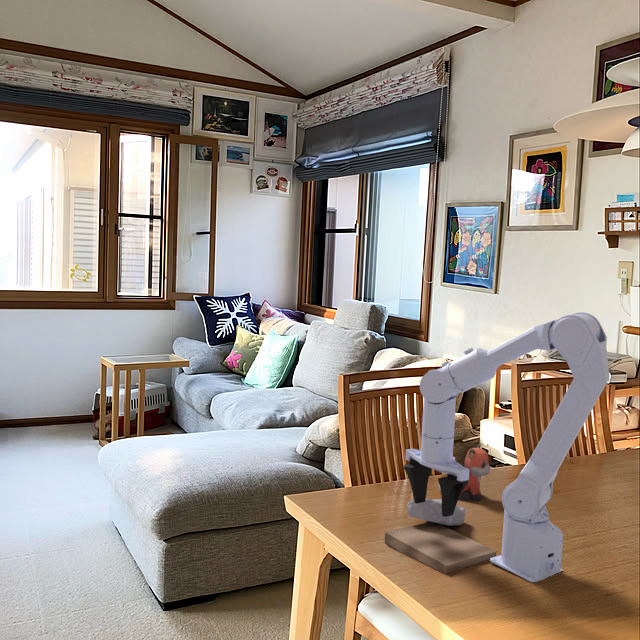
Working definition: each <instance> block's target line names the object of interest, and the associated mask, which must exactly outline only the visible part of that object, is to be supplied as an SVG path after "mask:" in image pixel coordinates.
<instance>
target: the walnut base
mask: <svg viewBox="0 0 640 640" xmlns="http://www.w3.org/2000/svg"><path fill="white" fill-rule="evenodd" d="M384 544H385V545H387V546H390V547H391V548H393V549H395V550H396V551H398V552H400V553H402V554H404V555H407V556H408V557H410V558H412V559H414V560H417V561H419V562H420V563H423V564H424V565H426V566H428V567H431V568H433V569H435V570H437V571H438V572H440V573H442V574H445V575H448V574H451V573H454V572H457V571H459V570H462V569H465V568H469V567H471V566H475V565H478V564H481V563H484V562H487V561H490V560H489V559H490V558H493V557H496V556H497V551H496V550H494V549H492V548H490V547H488V546H486V545H484V544H482V543H481V542H478V541H476V540H473V539H471V538H469V537H467V536H466V535H463V534H462V533H460V532H457V531H455V530H453V529H451V528H449V527H446V525H444V524H440V523H435V522H431V521H426V522H423V523H420V524H414V525H411V526H405V527H402V528H398V529H394V530H393V529H392V530H389V531H385V533H384Z"/></svg>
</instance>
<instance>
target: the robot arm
mask: <svg viewBox="0 0 640 640" xmlns="http://www.w3.org/2000/svg"><path fill="white" fill-rule="evenodd" d="M607 339H608V338H607V334H606V332H605V331H604V328H603V326H602V325H601V323H600V321H599V320H598V318H597V317H596V316H594V315H593V314H590V313H588V312H582V311H581V312H575V313H573V314H567V315H563V316H561V317H559V318H558V319H554V320H549V321H547V322H545V323H541V324H538V325H535V326H532V327H530V328H529V329H527V330H525V331H523V332H521V333H519V334H518V335H516V336H514V337H512V338H510V339H509V340H506V341H505V342H502V343H501V344H499V345H497V346H496V347H494V348H492V349H490V350H487V349H484V348H481V347H477V348H476V349H474V348H473V347H469V348H467V349H465V350H464V351H463V353H464V354H463V355H462V356H460V357H458V358H457V357H456V358H455V359H454V360H452V361H449V360H447V361H444V362H442V363H441V367H440V368H437V369H430V370H428V371H427V372H426V373H425V374H424V375H423V376H422V377H421V378H420V381H419V390H420V391H419V392H420V393H421V396H422V397H423V409H422V420H421V421H422V423H421V425H422V426H421V444H420V449H417V448H408V449H405V457H404V458H405V460H406V461H408V463H405V464H403V470H404V471H405V474H406V475H407V477H408V480H409V481H408V482H409V483H410V487H411V492H412V497H413V500H414V503H416V504H418V503H422V502H425V500H426V499H427V492H428V482H429V479H430V475H431V472H432V470H434V471H437V472H440V473H442V474H444V475H446V476H443V477H439V478H437V482H438V484H439V485H440V488H439V490H440V489H441V490H440V496H441V499H442V516H444V517H447V516H452V515H453V514H454V510H455V507H456V505H457V503H458V502H459V500H460V499H459V497H460V495H461V493H462V491H463V490H464V488H465V487H466V485H467V484H468V482H469V469H467V468H465V466H463V465H462V464H460V463H459V462H458V461H456V457H455V456H454V443H455V441H454V439H455V427H456V426H455V425H456V424H455V423H456V403H457V401H456V400H457V396H459V395H460V394H461V393H464V392H467V391H469V390H471V389H473V388H475V387H478V386H479V385H481V384H484V383H486V382H488V381H489V380H492V379H494V377H496V373H497V370H498V368H499V367H501V366H502V365H505V364H506V363H509V362H511V361H513V360H516V359H518V358H520V357H522V356H525V355H527V354H529V353H531V352H534V351H536V350H540V351H541V350H542V351H547V352H549V351H553V350H556V351H557V352H558V353H559V355H561V356H562V357H563V359H564V360H565V361H566V363H567V365H568V367H569V369H570V370H569V371H570V373H571V374H572V377H573V379H572V381H571V383H570V385H569V387H568V389H567V390H566V392H565V393H564V396H563V397H562V399H561V401H560V403H559V404H558V407H557V408H556V410H555V412H554V414H553V416H552V418H551V419H550V421H549V423H548V424H547V427H546V429H545V430H544V432H543V434H542V436H541V437H540V440H539V441H538V443H537V445H536V447H535V449H534V451H532V455H531V456H530V458H529V459H528V461H527V463H526V464H525V466H523V468H522V470H521V471H520V472H519V475H517V476H518V477H516V479H515V480H514V481H513V482H511V483H509V484H508V485H506V487H505V488H504V489H503V491H502V493H501V503H502V506H503V507H502V508H503V509H504V511H503V522H502V523H503V528H502V539H501V540H502V541H501V551H500V552H501V554H500V555H496V557H493V558H490V560H489V562H490V563H492V564H494V565H496V566H499V567H501V568H502V569H504V570H506V571H509V572H510V573H513V574H514V575H517V576H518V577H521V578H522V579H524V580H527V581H529V582H530V583H537V582H541V581H542V580H546V579H548V578H547V577H549V576H551V575H554V574H556V573H559V572H561V570H562V569H563V568H562V559H563V558H562V557H563V545H564V535H563V532H562V530H561V529H560V528H559V527H558V526H556V525H555V524H554V523H552V521H551V520H550V519H549V517H550V515H549V511H548V510H547V506H546V504H547V503H548V502H549V501H550V500H551V498H552V496H553V493H554V491H553V489H554V487H553V486H554V481H555V479H556V477H557V475H558V471H559V468H561V465H562V463H563V462H564V460H565V459H566V457H567V455H568V453H569V451H570V450H571V447H572V446H573V444H574V442H575V440H576V439H577V437H578V435H579V433H580V431H581V430H582V428H583V426H584V424H585V423H586V421H587V419H588V417H589V416H590V414H591V412H592V410H593V408H594V407H595V405H596V403H597V401H599V400H598V399H599V398H600V396H601V394H603V393H602V392H603V391H604V389H605V387H606V386H607V384H608V381H609V378H610V369H609V360H608V359H609V358H608V350H607V343H608V342H607V341H608V340H607ZM439 485H438V486H439ZM563 570H564V569H563ZM563 570H562V571H563ZM559 574H560V573H559ZM556 575H557V574H556ZM554 576H555V575H554ZM551 577H552V576H551ZM545 578H546V579H545ZM549 578H550V577H549Z"/></svg>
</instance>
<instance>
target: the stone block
mask: <svg viewBox="0 0 640 640" xmlns="http://www.w3.org/2000/svg"><path fill="white" fill-rule="evenodd" d="M406 509H407V515H408V516H409V517H411V518H415V519H420V520H422V521H426V522H435V523H438V524H440V525H443V526H449V527H450V526H462V525H463V524H464V523H465V519H466V517H465V516H466V510H467V509H466V507H460V506H458V505H457V504H456V507H455V510H454V514H453V515H452V516H447V517H444V516H442V498H439V499H438V498H437V499H433V498H426V499H425V502H422V503H418V504H416V503H414V499H412V500H409V501H408V502H407V505H406Z"/></svg>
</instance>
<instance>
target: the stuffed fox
mask: <svg viewBox="0 0 640 640" xmlns="http://www.w3.org/2000/svg"><path fill="white" fill-rule="evenodd" d="M481 446H482V443H481V442H479V443H478V444H477V446H476V447H472V448H469V449H468V451H467V452H466V455H465V459H464V467H465V468H467V469H469V482H468V484H467V485H466V487H465V488H464V490H463V491H462V493H461V495H460V497H459V499H458V500H461V501H465V502H466V501H471V502H472V501H473V502H481V501H482V500H483V499H482V491H481V482H480V481H481V480H482V479H481V478H482V476H487V475H488V474H489V473H490V469H491V468H490V463H489V453H488V452H487V451H486V450H485V449H483V448H481ZM437 485H438V488H439V490H440V491H441V489H440V485H439V483H438V484H437Z"/></svg>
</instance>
